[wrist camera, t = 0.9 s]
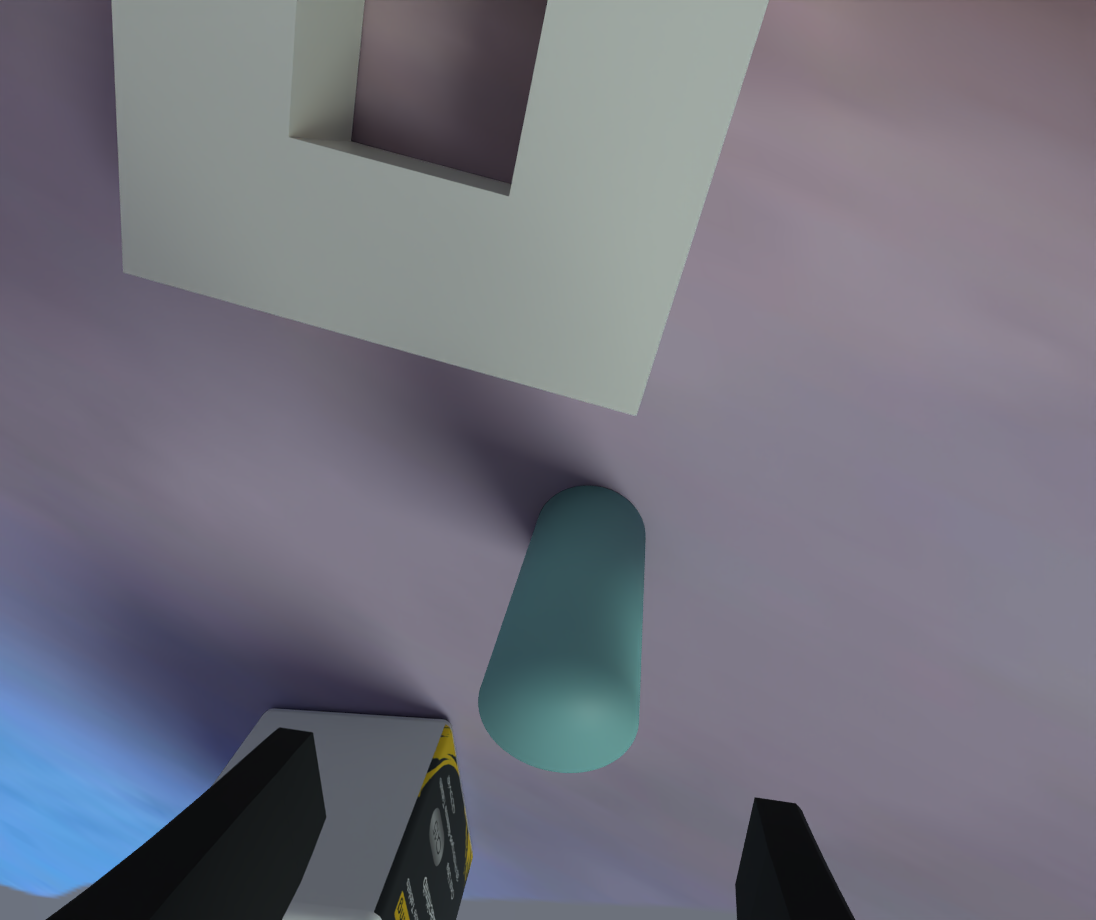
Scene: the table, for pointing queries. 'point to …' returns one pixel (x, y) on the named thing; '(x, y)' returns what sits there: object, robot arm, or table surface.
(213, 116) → the socket slab
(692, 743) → the table surface
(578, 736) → the peg
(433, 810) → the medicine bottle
